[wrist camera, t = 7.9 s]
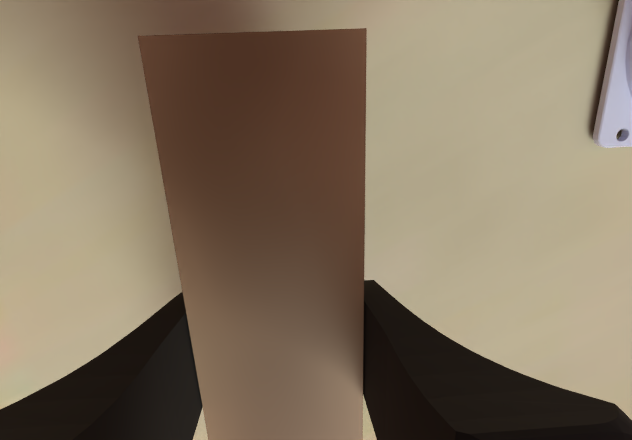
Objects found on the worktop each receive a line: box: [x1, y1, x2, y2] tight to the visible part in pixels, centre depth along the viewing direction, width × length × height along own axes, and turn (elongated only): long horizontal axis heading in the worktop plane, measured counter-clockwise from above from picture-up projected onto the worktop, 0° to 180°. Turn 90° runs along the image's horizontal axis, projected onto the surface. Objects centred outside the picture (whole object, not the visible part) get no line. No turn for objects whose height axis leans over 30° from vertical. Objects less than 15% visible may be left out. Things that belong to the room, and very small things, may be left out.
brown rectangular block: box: [138, 28, 366, 440], centre depth 12 cm, size 5×18×4 cm, turn 2°
